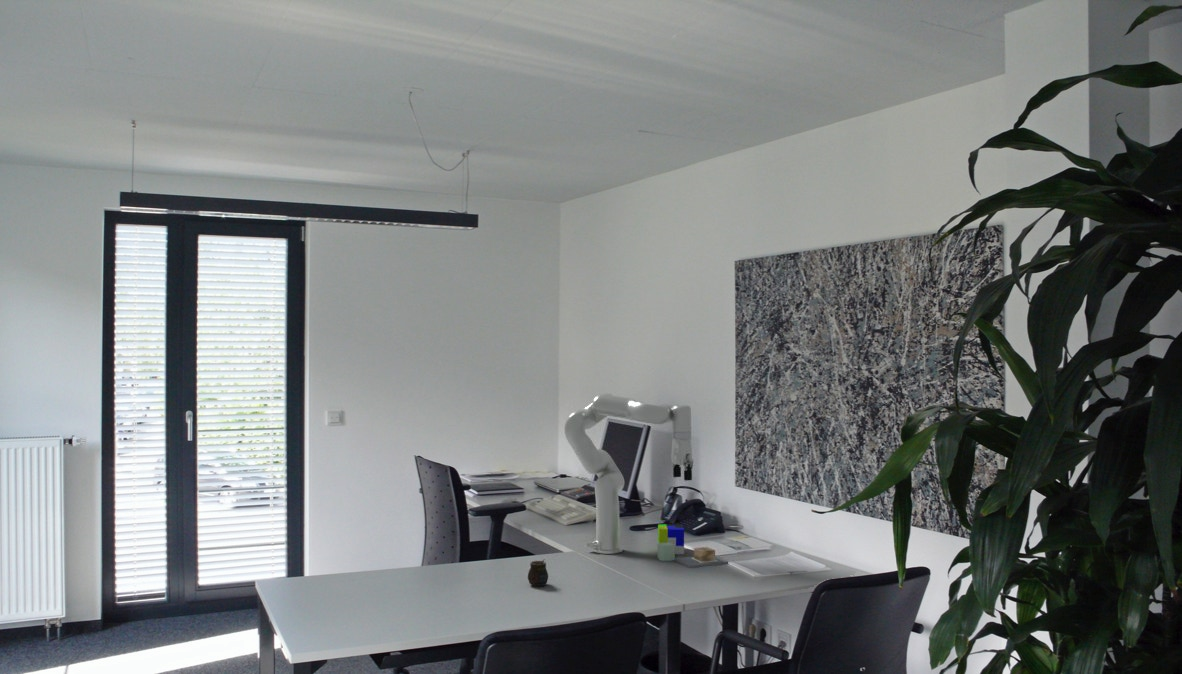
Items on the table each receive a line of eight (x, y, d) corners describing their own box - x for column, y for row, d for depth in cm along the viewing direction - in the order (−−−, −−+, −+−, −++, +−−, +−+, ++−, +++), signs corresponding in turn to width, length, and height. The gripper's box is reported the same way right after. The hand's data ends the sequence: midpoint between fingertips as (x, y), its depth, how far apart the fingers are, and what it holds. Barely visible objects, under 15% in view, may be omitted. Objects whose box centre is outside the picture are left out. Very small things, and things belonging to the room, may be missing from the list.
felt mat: (689, 567, 333) (689, 565, 333) (674, 560, 344) (674, 558, 344) (728, 563, 339) (728, 561, 339) (712, 556, 350) (712, 554, 350)
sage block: (663, 561, 343) (663, 545, 343) (657, 558, 348) (657, 543, 348) (674, 560, 345) (674, 544, 345) (668, 557, 350) (668, 542, 350)
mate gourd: (539, 581, 314) (539, 553, 314) (553, 585, 308) (553, 557, 308) (523, 584, 308) (524, 556, 309) (537, 589, 303) (538, 560, 303)
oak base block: (701, 561, 338) (701, 551, 338) (694, 558, 344) (694, 548, 344) (715, 560, 340) (715, 550, 341) (707, 557, 346) (707, 546, 346)
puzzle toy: (684, 554, 355) (684, 529, 355) (659, 554, 355) (659, 529, 355) (682, 548, 365) (682, 524, 365) (658, 548, 365) (658, 524, 365)
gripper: (664, 434, 359) (664, 476, 358) (683, 438, 343) (683, 482, 342) (680, 433, 361) (681, 475, 361) (700, 437, 345) (700, 480, 345)
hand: (682, 478), depth 352 cm, fingers open, 9 cm apart
